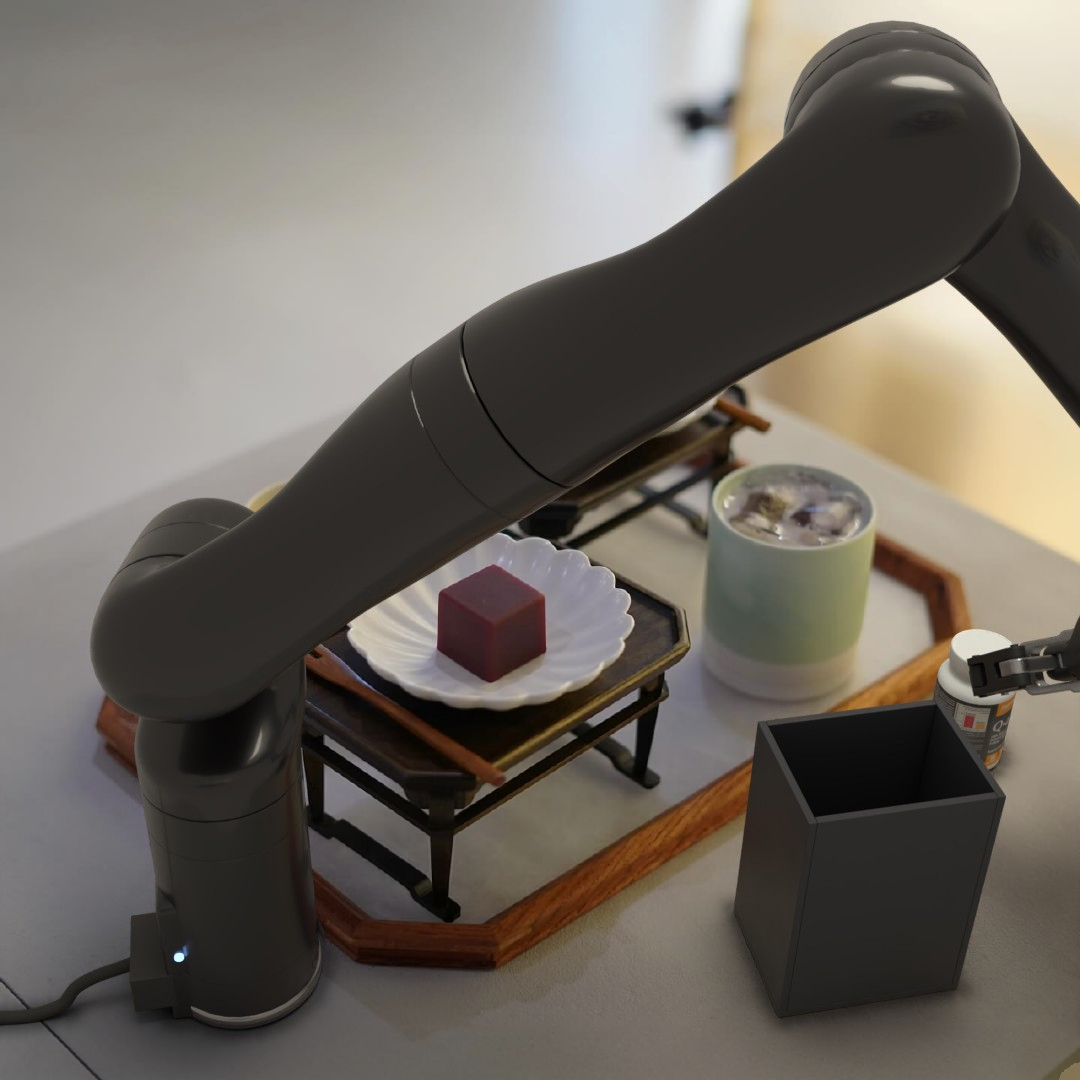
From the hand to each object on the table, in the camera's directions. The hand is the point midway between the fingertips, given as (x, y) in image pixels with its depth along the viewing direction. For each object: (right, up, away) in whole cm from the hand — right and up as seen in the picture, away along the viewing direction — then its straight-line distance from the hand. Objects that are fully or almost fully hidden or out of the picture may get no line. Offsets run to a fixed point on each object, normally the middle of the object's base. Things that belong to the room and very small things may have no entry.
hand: (1036, 674), depth 103 cm
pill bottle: (-2, -7, +13) cm, 15 cm away
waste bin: (-14, -18, -4) cm, 23 cm away
